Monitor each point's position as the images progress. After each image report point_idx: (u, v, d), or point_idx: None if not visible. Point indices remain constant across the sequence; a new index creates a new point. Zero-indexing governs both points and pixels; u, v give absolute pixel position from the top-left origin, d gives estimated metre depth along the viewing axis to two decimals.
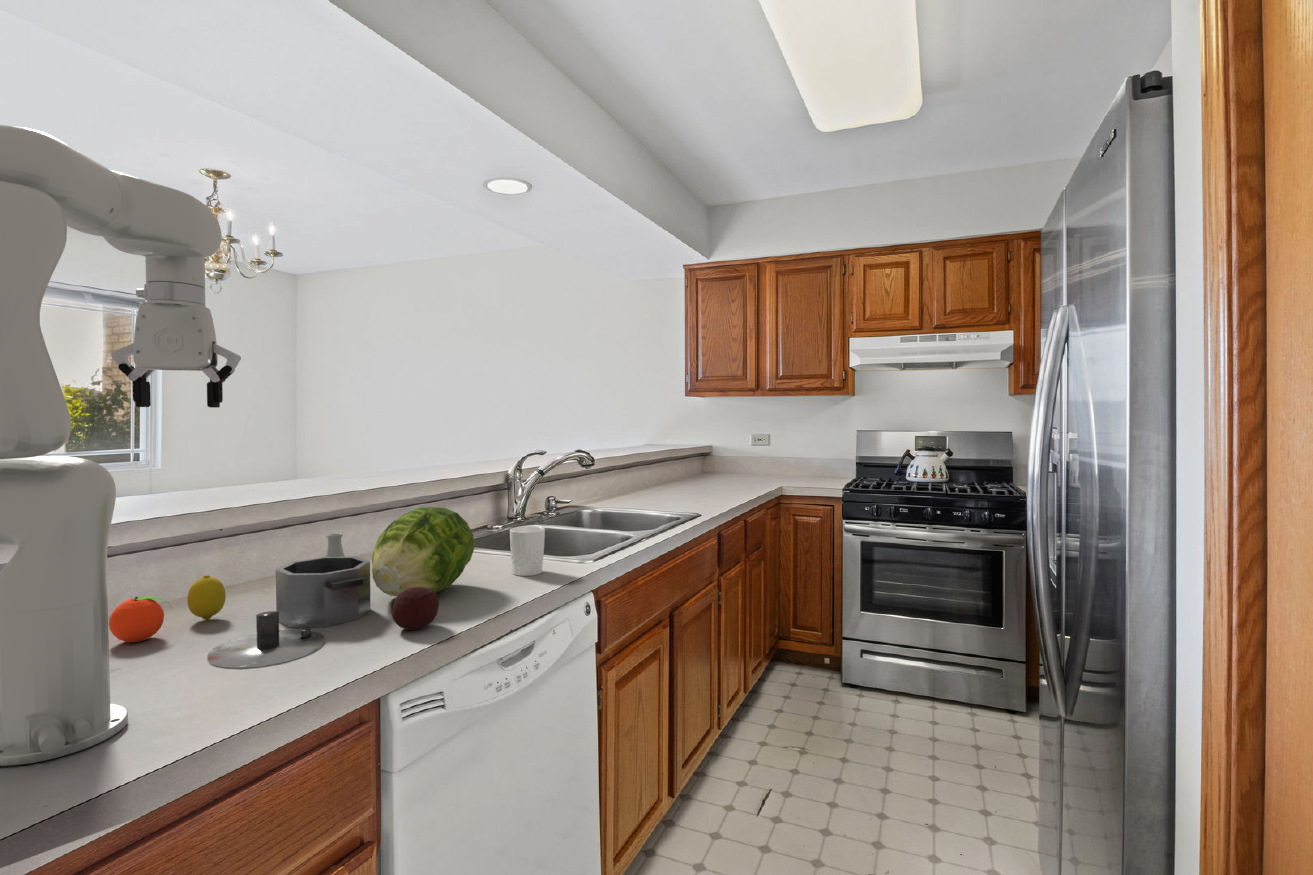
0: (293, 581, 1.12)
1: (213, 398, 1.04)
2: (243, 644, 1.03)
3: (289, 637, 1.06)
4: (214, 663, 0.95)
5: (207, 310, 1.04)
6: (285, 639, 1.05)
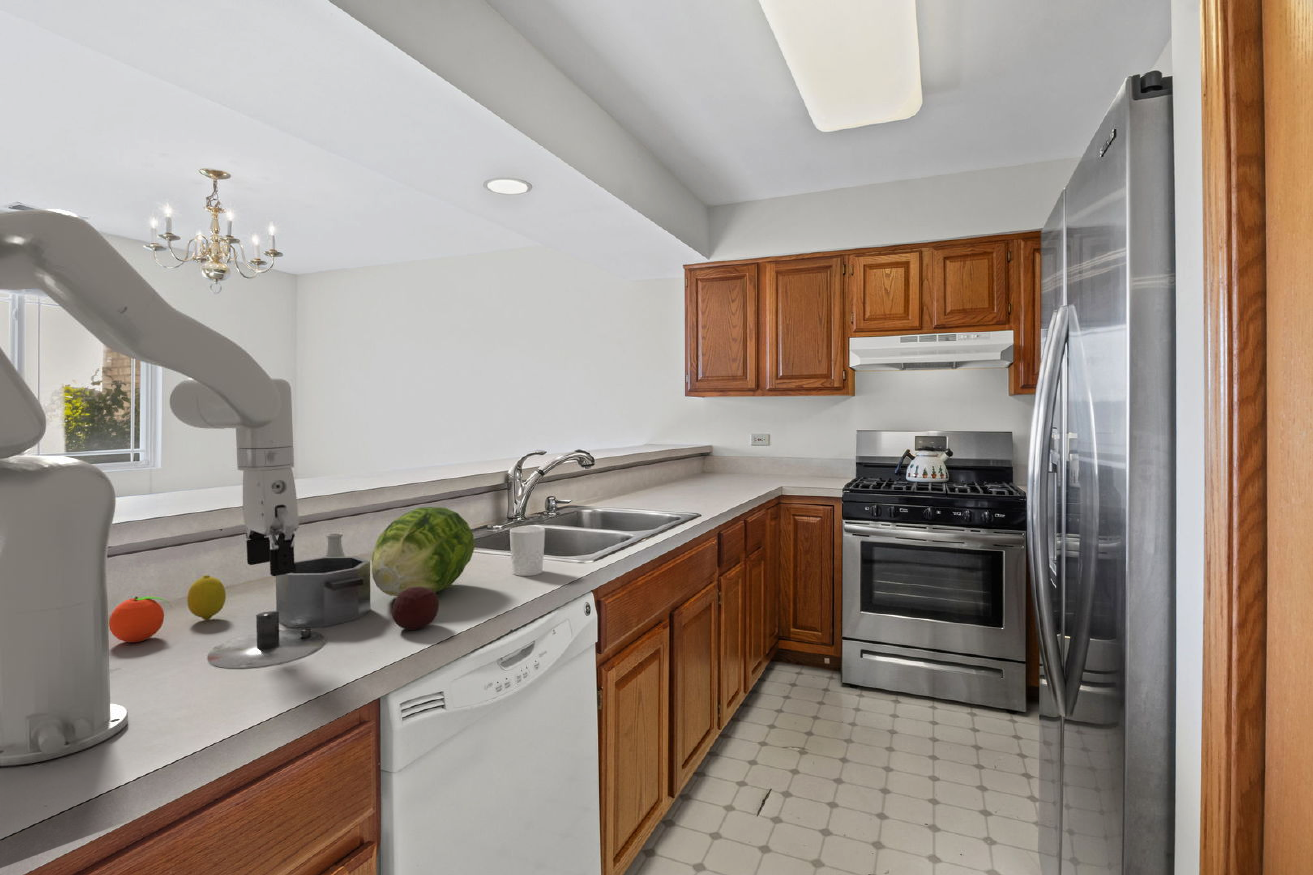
0: (293, 581, 1.12)
1: None
2: (243, 644, 1.03)
3: (289, 637, 1.06)
4: (214, 663, 0.95)
5: None
6: (285, 639, 1.05)
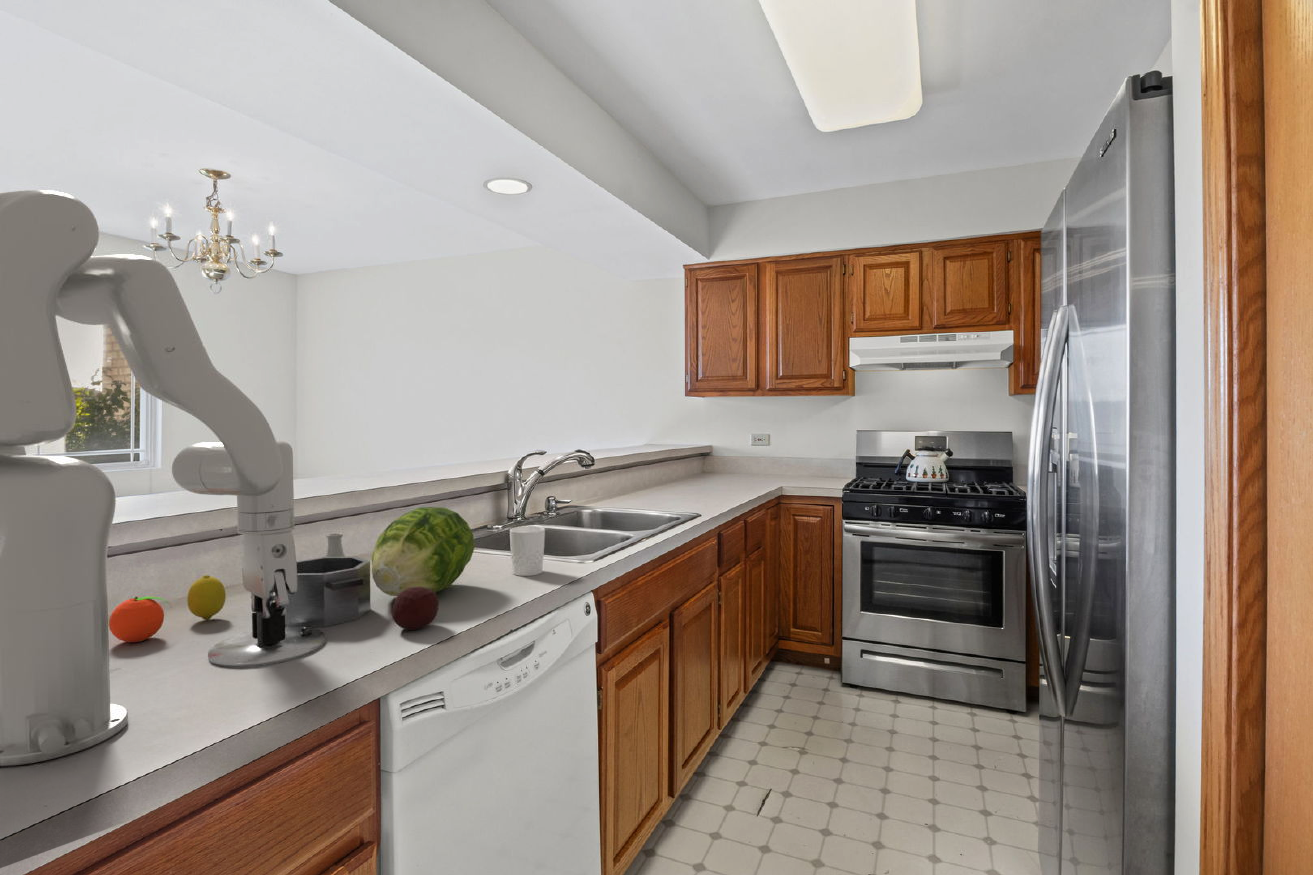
0: None
1: None
2: (244, 641, 1.03)
3: (290, 634, 1.06)
4: (215, 660, 0.95)
5: None
6: (286, 636, 1.05)
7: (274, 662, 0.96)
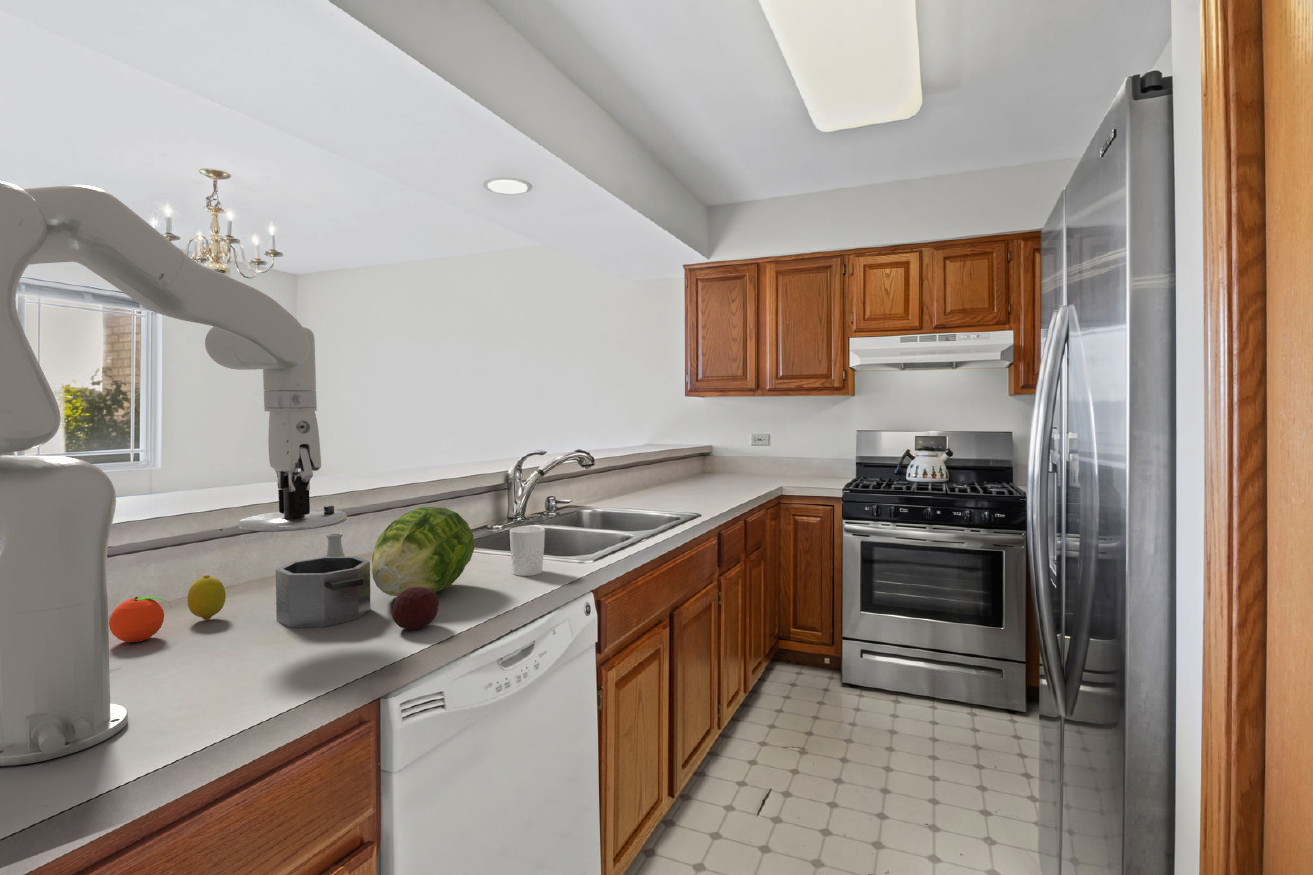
0: (293, 581, 1.12)
1: None
2: (271, 516, 1.10)
3: (313, 513, 1.13)
4: (245, 526, 1.02)
5: None
6: (310, 514, 1.12)
7: (301, 528, 1.03)
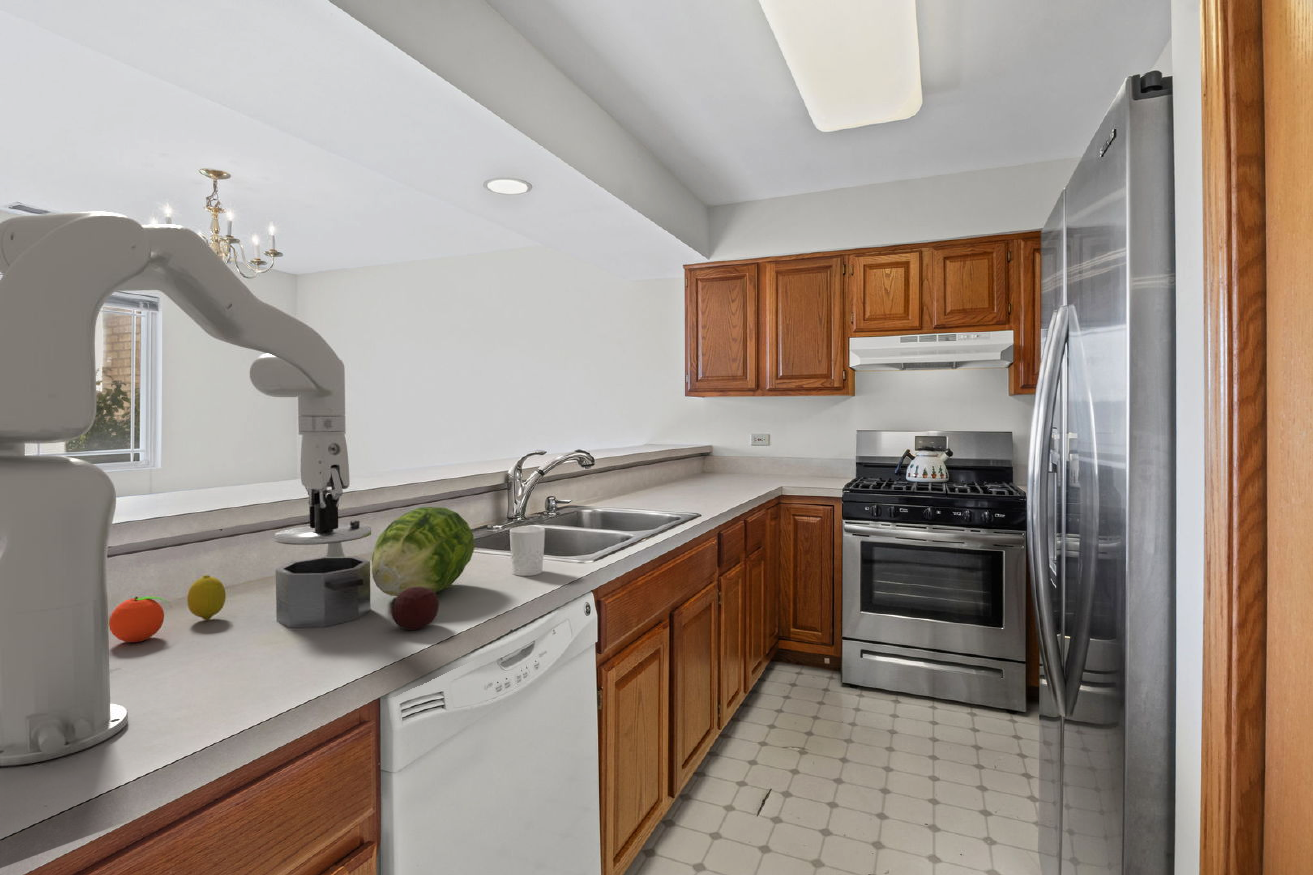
0: (293, 581, 1.12)
1: None
2: (302, 530, 1.19)
3: (340, 527, 1.23)
4: (281, 539, 1.12)
5: None
6: (338, 528, 1.22)
7: (332, 541, 1.12)
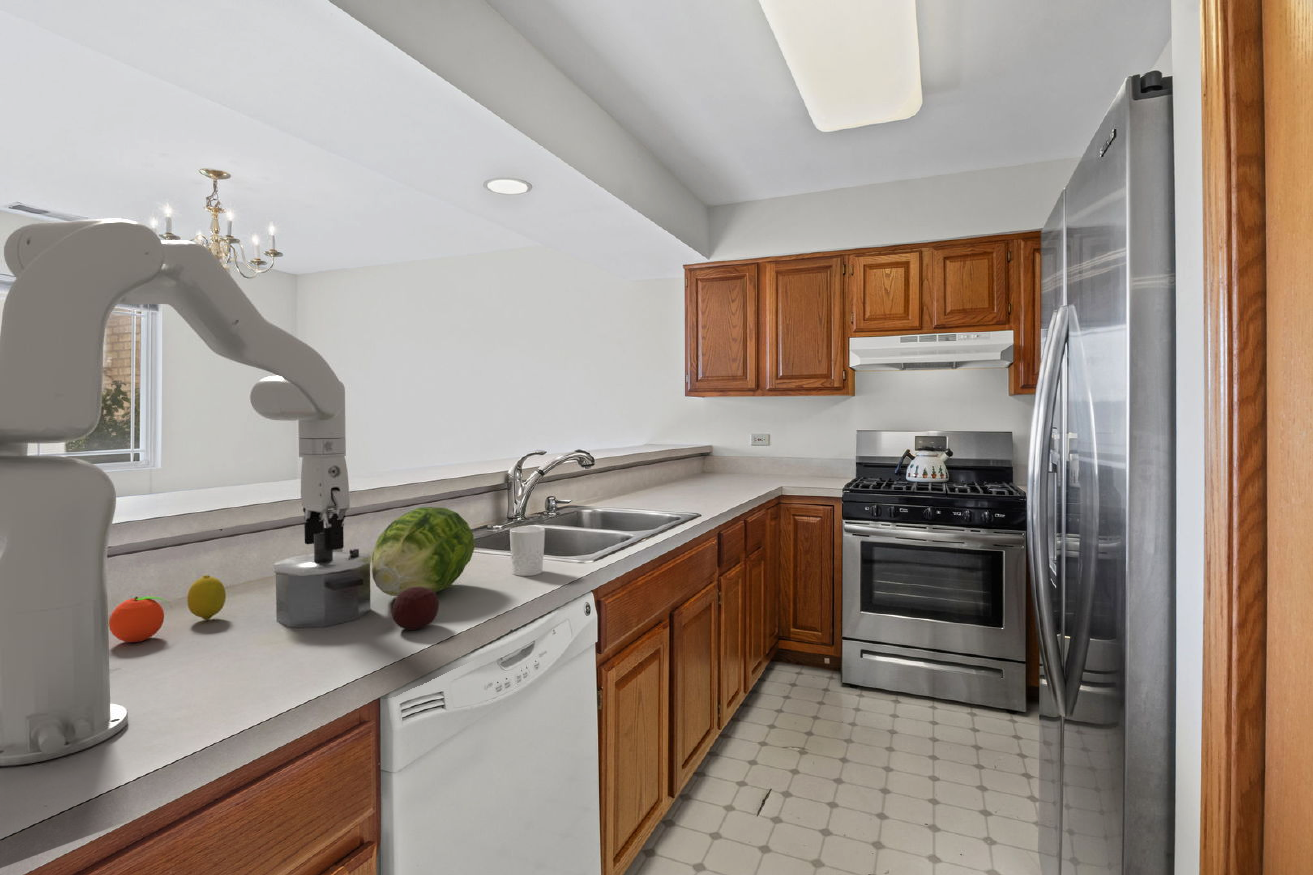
0: (293, 581, 1.12)
1: None
2: (302, 559, 1.19)
3: (340, 556, 1.22)
4: (281, 570, 1.12)
5: None
6: (337, 557, 1.22)
7: (331, 572, 1.12)
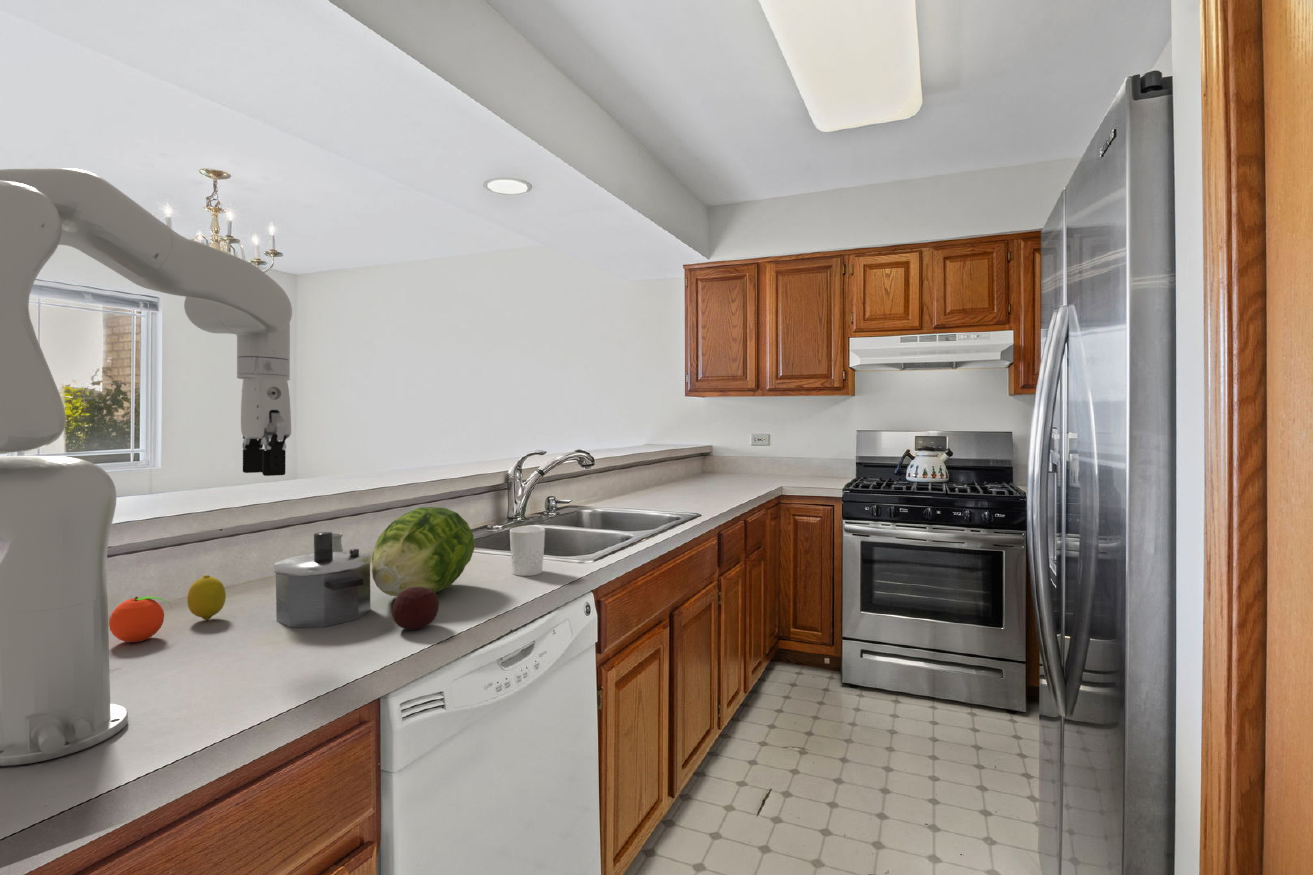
0: (293, 581, 1.12)
1: None
2: (302, 559, 1.19)
3: (340, 556, 1.22)
4: (281, 570, 1.12)
5: None
6: (337, 557, 1.22)
7: (331, 572, 1.12)
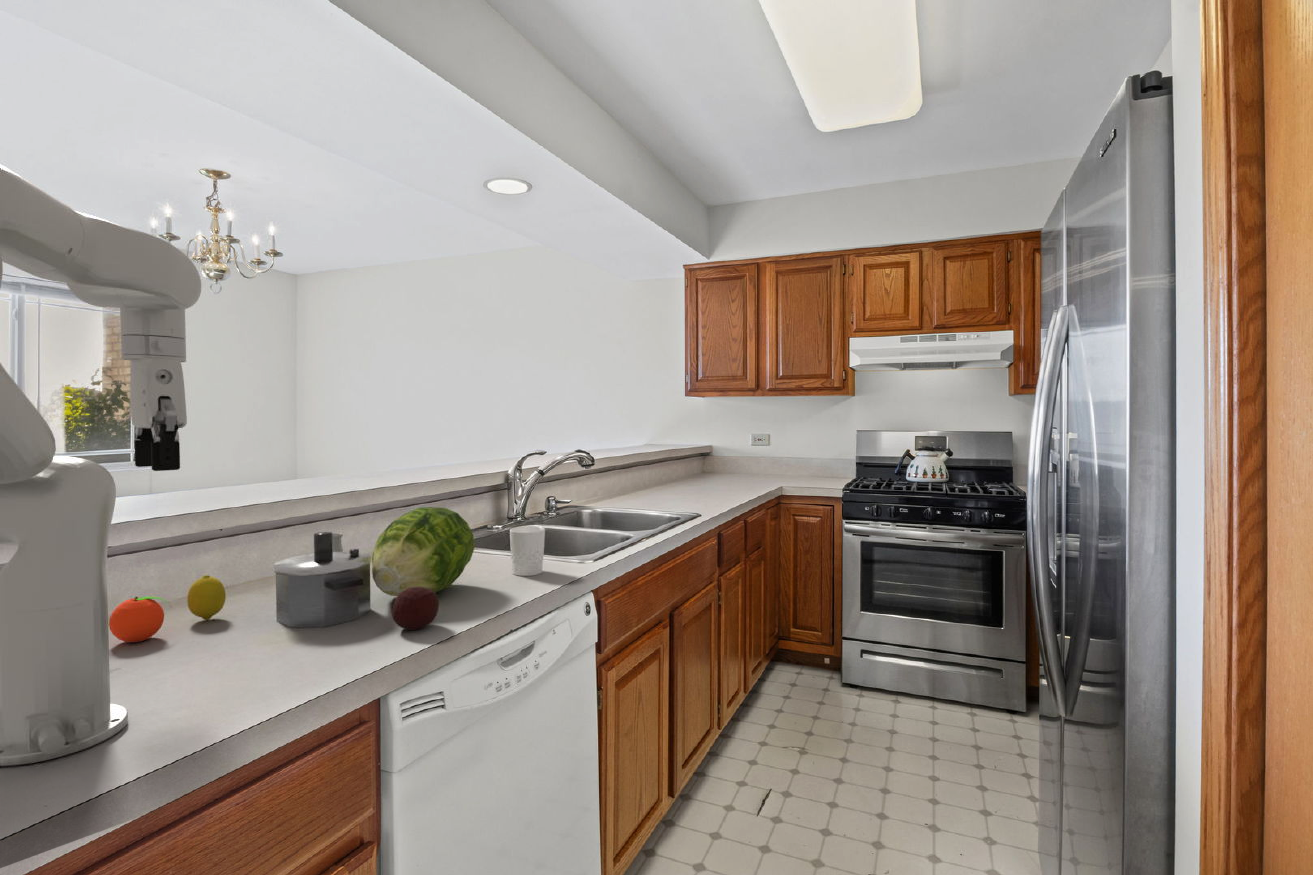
0: (293, 581, 1.12)
1: None
2: (302, 559, 1.19)
3: (340, 556, 1.22)
4: (281, 570, 1.12)
5: None
6: (337, 557, 1.22)
7: (331, 572, 1.12)
